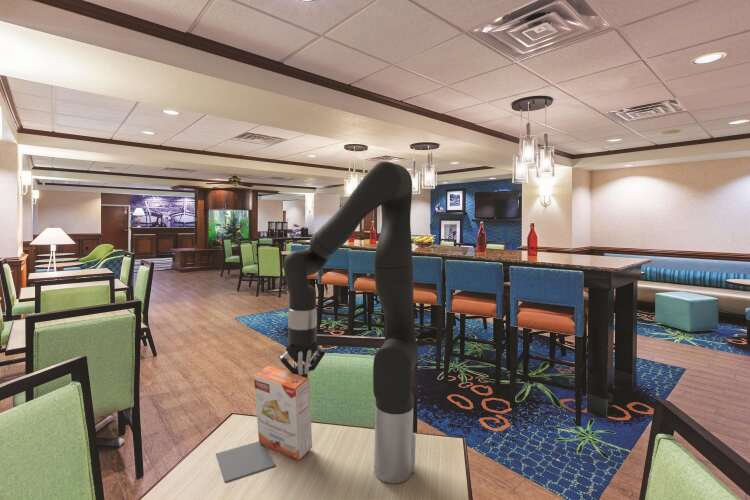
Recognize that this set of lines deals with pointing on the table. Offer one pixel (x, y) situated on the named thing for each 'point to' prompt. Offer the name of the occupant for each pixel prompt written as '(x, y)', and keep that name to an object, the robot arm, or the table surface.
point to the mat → (244, 461)
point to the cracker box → (283, 411)
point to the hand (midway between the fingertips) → (301, 386)
